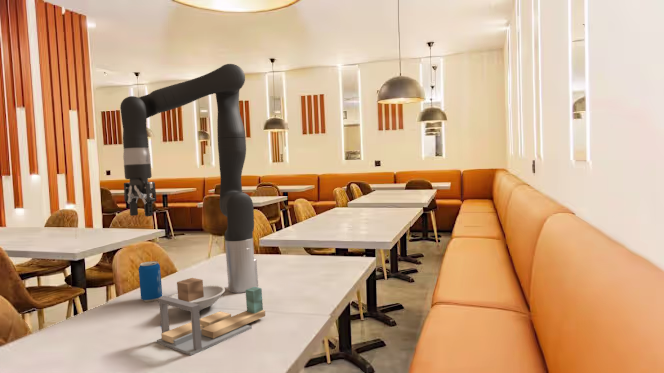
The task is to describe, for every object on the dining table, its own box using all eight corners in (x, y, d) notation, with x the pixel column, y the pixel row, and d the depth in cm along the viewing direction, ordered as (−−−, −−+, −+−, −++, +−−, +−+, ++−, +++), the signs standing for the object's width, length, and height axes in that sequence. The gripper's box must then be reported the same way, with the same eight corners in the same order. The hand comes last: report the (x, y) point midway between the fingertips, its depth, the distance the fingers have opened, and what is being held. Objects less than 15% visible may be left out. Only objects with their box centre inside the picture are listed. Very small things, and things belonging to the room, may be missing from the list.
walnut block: (193, 294, 127) (192, 277, 127) (203, 296, 124) (202, 279, 124) (178, 299, 123) (176, 282, 123) (188, 301, 120) (187, 284, 120)
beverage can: (154, 302, 138) (151, 265, 137) (136, 302, 139) (133, 265, 138) (166, 296, 144) (163, 260, 143) (149, 296, 145) (146, 261, 145)
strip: (253, 313, 120) (251, 286, 119) (265, 316, 117) (263, 288, 116) (201, 334, 106) (199, 304, 106) (213, 338, 103) (211, 307, 103)
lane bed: (217, 318, 119) (214, 281, 119) (251, 328, 111) (248, 287, 110) (156, 342, 105) (153, 299, 104) (190, 355, 97) (187, 308, 96)
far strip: (192, 327, 111) (191, 322, 111) (203, 331, 108) (202, 325, 108) (161, 339, 104) (161, 333, 104) (172, 343, 102) (172, 337, 102)
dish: (197, 323, 117) (195, 305, 116) (157, 318, 123) (156, 301, 122) (237, 302, 133) (235, 286, 132) (200, 299, 139) (199, 283, 138)
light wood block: (220, 316, 118) (220, 311, 118) (231, 319, 116) (231, 314, 115) (198, 325, 113) (198, 319, 113) (209, 328, 110) (209, 322, 110)
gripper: (161, 161, 131) (165, 215, 132) (136, 163, 140) (140, 213, 141) (137, 162, 125) (142, 218, 126) (113, 164, 134) (117, 216, 135)
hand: (141, 215), depth 133 cm, fingers open, 8 cm apart
